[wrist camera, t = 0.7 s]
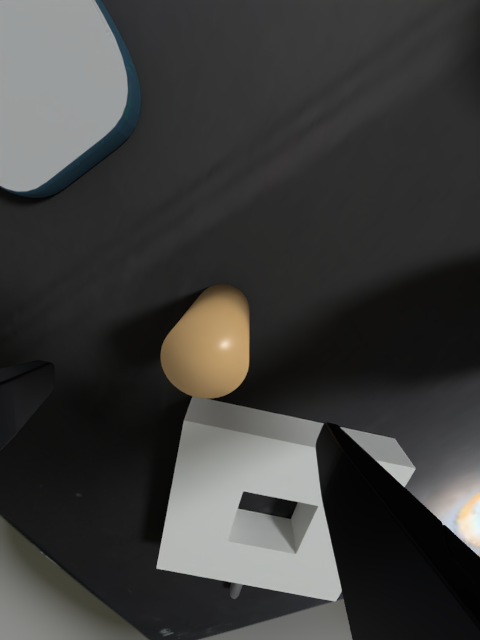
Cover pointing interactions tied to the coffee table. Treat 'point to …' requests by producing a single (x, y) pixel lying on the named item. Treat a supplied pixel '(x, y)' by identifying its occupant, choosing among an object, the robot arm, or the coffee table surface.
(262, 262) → the coffee table surface
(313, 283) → the coffee table surface
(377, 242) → the coffee table surface
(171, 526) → the grey board with hole
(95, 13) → the external hard drive
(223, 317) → the tan peg
